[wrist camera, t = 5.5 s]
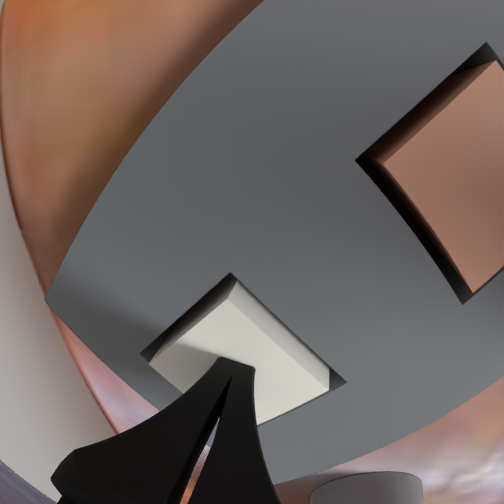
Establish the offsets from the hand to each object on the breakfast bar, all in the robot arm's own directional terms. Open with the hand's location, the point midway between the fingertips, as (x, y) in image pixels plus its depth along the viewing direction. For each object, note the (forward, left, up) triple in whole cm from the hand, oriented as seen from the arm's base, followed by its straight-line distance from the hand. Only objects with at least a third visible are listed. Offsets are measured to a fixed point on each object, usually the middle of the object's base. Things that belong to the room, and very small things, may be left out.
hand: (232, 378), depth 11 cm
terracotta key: (0, -11, -4) cm, 12 cm away
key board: (0, -6, -4) cm, 7 cm away
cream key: (0, 0, -4) cm, 4 cm away
